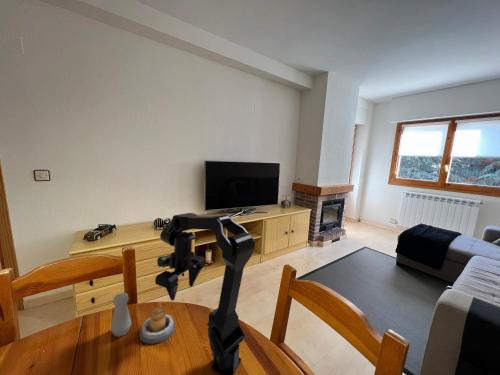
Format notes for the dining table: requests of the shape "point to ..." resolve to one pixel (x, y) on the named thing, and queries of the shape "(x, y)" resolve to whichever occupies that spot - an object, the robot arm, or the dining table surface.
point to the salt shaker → (120, 315)
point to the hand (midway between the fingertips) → (182, 292)
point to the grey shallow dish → (160, 336)
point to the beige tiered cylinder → (157, 320)
